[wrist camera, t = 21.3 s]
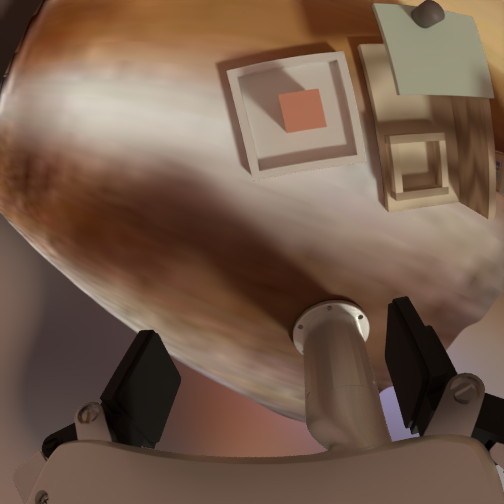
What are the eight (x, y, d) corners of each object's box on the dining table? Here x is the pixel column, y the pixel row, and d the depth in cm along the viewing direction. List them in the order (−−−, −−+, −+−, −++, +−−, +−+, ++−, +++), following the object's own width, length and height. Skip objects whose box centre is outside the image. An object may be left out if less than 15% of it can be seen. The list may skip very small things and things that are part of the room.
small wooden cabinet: (460, 198, 34) (495, 218, 25) (385, 209, 36) (410, 232, 28) (440, 49, 25) (474, 37, 17) (356, 47, 27) (377, 26, 19)
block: (318, 126, 32) (326, 126, 26) (286, 132, 33) (286, 133, 26) (311, 95, 30) (318, 88, 24) (278, 101, 31) (278, 94, 25)
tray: (362, 159, 34) (366, 162, 32) (254, 177, 36) (252, 180, 34) (340, 55, 28) (343, 51, 26) (229, 73, 31) (226, 70, 29)
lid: (490, 98, 20) (510, 98, 16) (396, 95, 22) (412, 92, 19) (469, 18, 16) (486, 11, 12) (371, 5, 18) (382, -8, 15)
